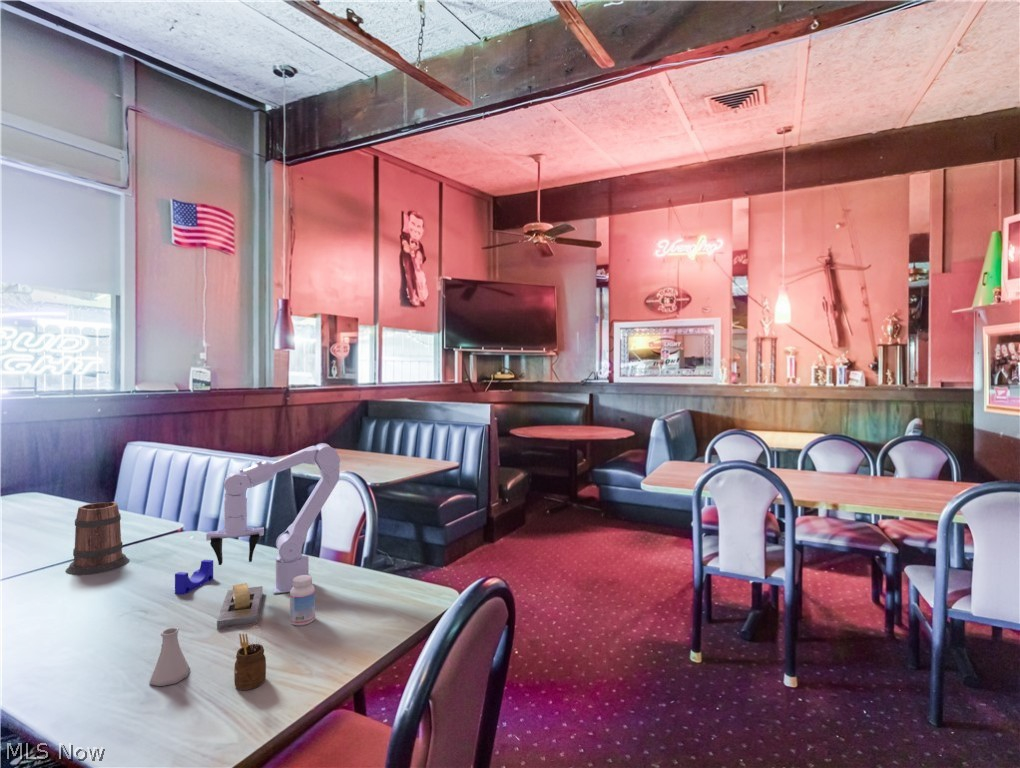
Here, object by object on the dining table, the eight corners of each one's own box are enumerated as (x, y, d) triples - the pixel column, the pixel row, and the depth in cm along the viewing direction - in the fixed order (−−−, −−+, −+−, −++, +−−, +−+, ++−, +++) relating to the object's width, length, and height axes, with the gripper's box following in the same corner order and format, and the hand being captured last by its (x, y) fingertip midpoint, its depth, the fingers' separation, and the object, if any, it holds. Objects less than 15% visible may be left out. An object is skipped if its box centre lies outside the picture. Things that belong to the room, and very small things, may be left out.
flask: (162, 668, 117) (162, 623, 117) (196, 667, 117) (196, 622, 117) (141, 688, 110) (141, 639, 109) (178, 687, 110) (178, 639, 110)
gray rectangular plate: (262, 593, 156) (262, 586, 156) (256, 623, 137) (256, 615, 137) (227, 597, 153) (227, 590, 153) (216, 629, 134) (216, 621, 134)
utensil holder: (270, 674, 115) (270, 619, 115) (257, 692, 109) (257, 633, 108) (242, 674, 115) (242, 619, 114) (228, 692, 108) (228, 633, 108)
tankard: (139, 563, 179) (138, 503, 178) (77, 579, 165) (77, 514, 164) (108, 549, 192) (108, 494, 191) (49, 563, 177) (48, 503, 177)
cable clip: (200, 578, 167) (200, 559, 167) (213, 579, 167) (213, 560, 166) (170, 594, 155) (170, 573, 155) (184, 595, 155) (184, 574, 155)
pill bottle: (319, 617, 141) (320, 575, 141) (303, 628, 136) (304, 584, 135) (301, 614, 143) (301, 572, 143) (284, 624, 138) (284, 580, 137)
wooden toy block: (246, 602, 149) (246, 583, 149) (249, 613, 143) (249, 593, 142) (232, 605, 148) (232, 585, 147) (235, 616, 141) (235, 596, 141)
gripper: (264, 509, 159) (264, 555, 160) (209, 513, 154) (209, 560, 155) (262, 515, 153) (262, 563, 153) (204, 520, 148) (204, 569, 148)
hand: (235, 562), depth 153 cm, fingers open, 7 cm apart
